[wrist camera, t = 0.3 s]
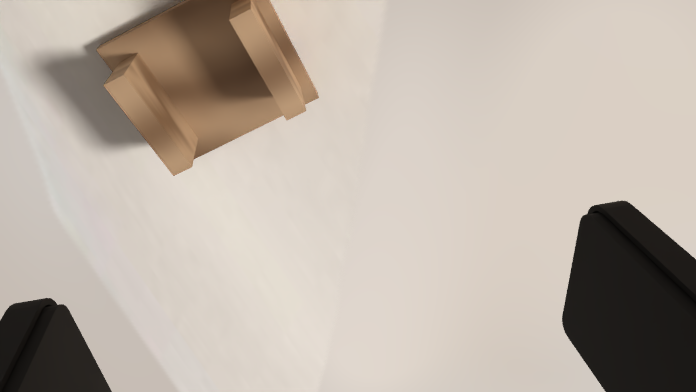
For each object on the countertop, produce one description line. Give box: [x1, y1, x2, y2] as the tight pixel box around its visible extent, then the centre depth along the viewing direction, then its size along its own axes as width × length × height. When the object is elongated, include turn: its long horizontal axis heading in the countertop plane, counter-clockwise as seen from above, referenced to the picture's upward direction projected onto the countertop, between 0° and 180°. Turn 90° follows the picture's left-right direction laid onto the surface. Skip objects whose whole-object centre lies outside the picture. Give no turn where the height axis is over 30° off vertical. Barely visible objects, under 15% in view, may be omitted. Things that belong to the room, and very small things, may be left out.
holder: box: [96, 0, 319, 176], centre depth 39 cm, size 11×13×6 cm
